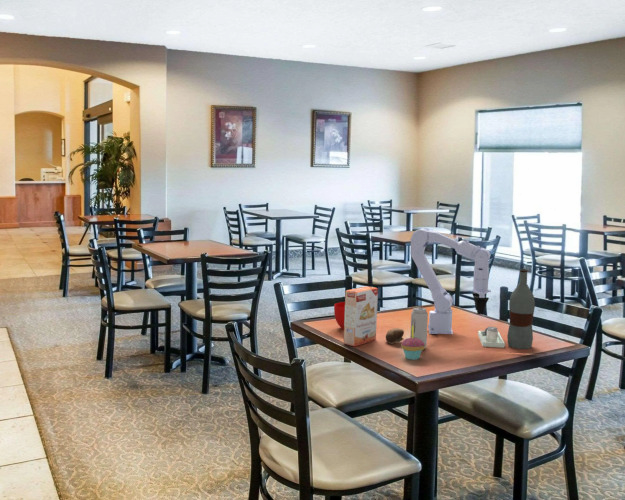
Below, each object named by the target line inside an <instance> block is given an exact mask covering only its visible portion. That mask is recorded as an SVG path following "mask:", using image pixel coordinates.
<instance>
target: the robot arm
mask: <svg viewBox="0 0 625 500" xmlns="http://www.w3.org/2000/svg"><path fill="white" fill-rule="evenodd" d="M431 243H439V244H441V245H443V246H447V247H449V248H451V249H455V251H456V254H458V255H460V256H463V257H464V258H467V259H469V260H473V261H474V267H473V285H472V292H471V294H472V297H473V301H474V308H475V311H476V313H477V315H482V316H483V315H484V313H485V309H486V305H487V303H488V301H489V300H490V298H489V297H486V296H487V293H491V291H492V290H491V289H489V271H490V262H489V261H490V258H491V253H490V251H489V250H488V249H486V248H485V247H481V246H480V245H474V244H473V243H470V241H469V240H468V239H467V240H460V241H457V240H455V239H453V238H451V237H449V236H446V235H444V234H442V233H440V232H438V231H436V230H433V229H429V228H426V227H422V228H419V229H417V230H414V232H413V233H412V236H411V237H410V251H409V253H410V256H411V258H412V260H413V262H414V263H415V265H416V268H417V269H418V271H419V273H420V274H421V276H422V278H423V280H424V282H425V284H426V285H427V287H428V289H429V291H430V293H431V298H432V300H433V306H434V310H429V313H428V323H427V330H428V334H429V335H439V334H444V335H453V334H454V333H453V327H452V326H453V309H452V308H451V307H452V306H453V304H454V299H453V296H452V295H451V294H450V293H448V292H447V290H446V289H445V287H444V286H443V285H442V284H441V282H440V280H439V279H438V276H437V275H436V273H435V271H434V269H433V267H432V266H431V264H430V262H429V259H428V258H427V257H426V255H425V249H426V247H427V245H428V244H431Z"/></svg>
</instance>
